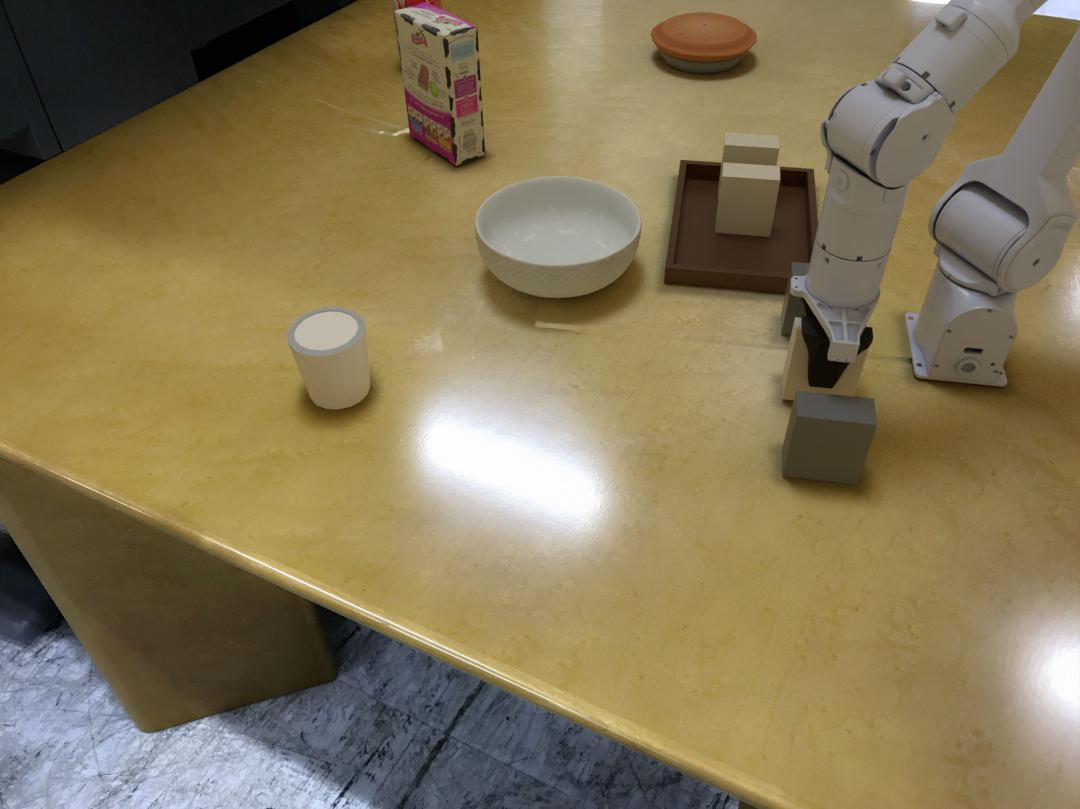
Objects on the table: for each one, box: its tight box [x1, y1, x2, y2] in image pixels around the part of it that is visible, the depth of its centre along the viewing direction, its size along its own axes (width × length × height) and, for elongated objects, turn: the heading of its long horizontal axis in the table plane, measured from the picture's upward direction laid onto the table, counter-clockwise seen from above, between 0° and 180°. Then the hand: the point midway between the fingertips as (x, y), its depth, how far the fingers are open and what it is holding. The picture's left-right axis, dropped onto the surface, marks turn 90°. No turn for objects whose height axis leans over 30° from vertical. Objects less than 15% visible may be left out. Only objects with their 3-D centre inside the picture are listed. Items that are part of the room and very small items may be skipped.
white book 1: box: [717, 131, 781, 200], centre depth 103 cm, size 3×6×7 cm, turn 80°
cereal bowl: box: [474, 175, 643, 299], centre depth 93 cm, size 17×17×7 cm
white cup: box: [286, 306, 372, 411], centre depth 81 cm, size 7×7×7 cm
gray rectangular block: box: [780, 262, 810, 337], centre depth 85 cm, size 3×6×7 cm, turn 80°
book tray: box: [663, 159, 819, 295], centre depth 99 cm, size 23×16×3 cm
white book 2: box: [715, 162, 781, 237], centre depth 98 cm, size 3×6×7 cm, turn 80°
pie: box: [650, 11, 758, 74], centre depth 133 cm, size 15×16×5 cm
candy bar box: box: [395, 2, 486, 167], centre depth 111 cm, size 11×5×16 cm, turn 39°
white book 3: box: [781, 317, 869, 401], centre depth 79 cm, size 3×6×7 cm, turn 79°
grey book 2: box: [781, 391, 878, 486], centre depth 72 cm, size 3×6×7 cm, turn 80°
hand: (819, 371), depth 79 cm, fingers closed on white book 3, 3 cm apart
